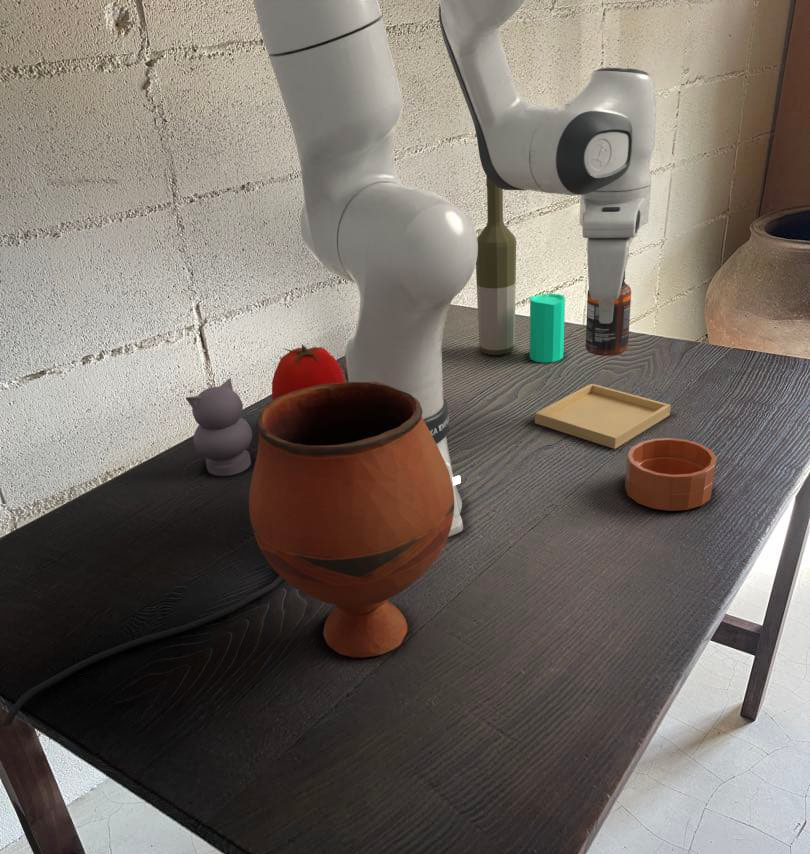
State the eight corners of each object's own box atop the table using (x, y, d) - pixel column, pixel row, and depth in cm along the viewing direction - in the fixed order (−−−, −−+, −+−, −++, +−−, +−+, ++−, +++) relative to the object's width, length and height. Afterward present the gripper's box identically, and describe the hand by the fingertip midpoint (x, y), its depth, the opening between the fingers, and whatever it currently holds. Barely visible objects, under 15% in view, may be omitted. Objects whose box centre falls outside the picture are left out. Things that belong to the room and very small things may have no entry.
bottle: (522, 347, 152) (523, 171, 136) (505, 360, 147) (504, 179, 131) (488, 342, 156) (485, 170, 139) (471, 355, 151) (465, 178, 135)
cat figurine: (222, 485, 115) (205, 405, 109) (188, 470, 120) (170, 393, 113) (269, 461, 120) (254, 383, 114) (234, 448, 125) (219, 372, 118)
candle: (526, 361, 146) (527, 294, 139) (532, 350, 151) (533, 283, 144) (560, 363, 144) (562, 294, 138) (565, 351, 149) (567, 284, 142)
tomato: (367, 419, 130) (359, 338, 123) (319, 451, 122) (307, 366, 115) (311, 407, 136) (299, 328, 129) (260, 437, 128) (245, 355, 120)
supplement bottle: (624, 342, 120) (630, 263, 114) (630, 356, 115) (636, 274, 109) (583, 343, 121) (586, 265, 115) (586, 358, 116) (590, 277, 110)
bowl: (682, 521, 98) (687, 485, 96) (609, 494, 105) (611, 459, 102) (726, 488, 104) (732, 453, 101) (654, 464, 111) (657, 430, 108)
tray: (614, 449, 115) (615, 438, 115) (534, 423, 124) (534, 412, 124) (669, 415, 123) (671, 404, 122) (590, 393, 132) (591, 383, 131)
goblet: (466, 690, 77) (455, 450, 64) (262, 702, 78) (208, 467, 64) (454, 572, 93) (444, 361, 80) (285, 583, 94) (247, 375, 80)
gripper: (597, 193, 117) (592, 291, 124) (581, 227, 101) (577, 337, 108) (643, 192, 115) (635, 291, 123) (634, 226, 99) (626, 338, 106)
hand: (608, 313), depth 115 cm, fingers closed on supplement bottle, 6 cm apart
